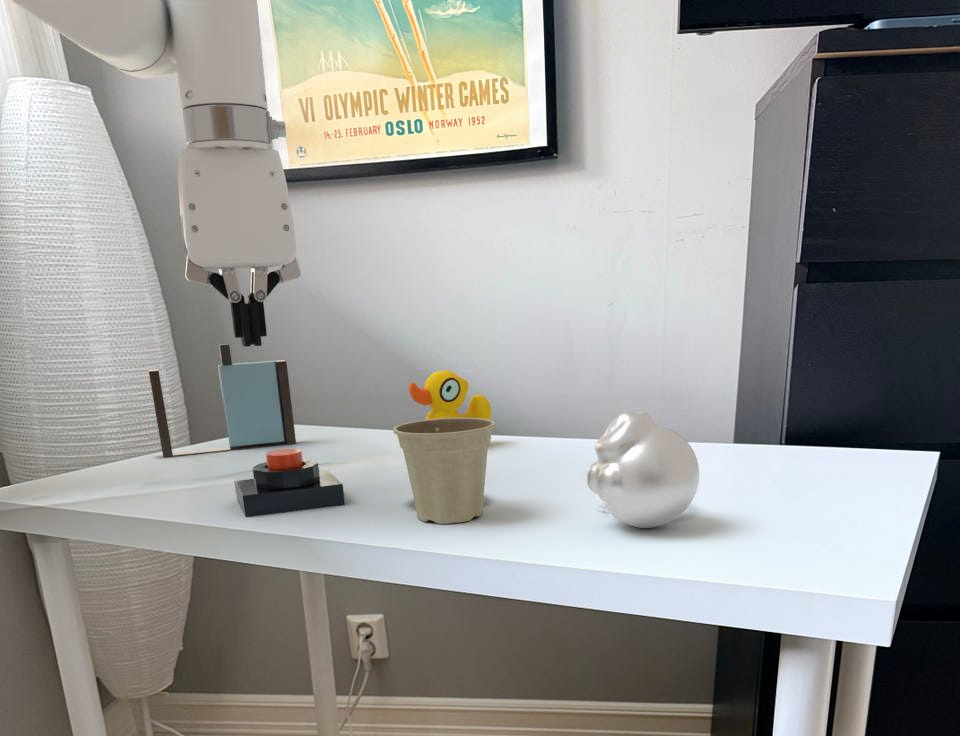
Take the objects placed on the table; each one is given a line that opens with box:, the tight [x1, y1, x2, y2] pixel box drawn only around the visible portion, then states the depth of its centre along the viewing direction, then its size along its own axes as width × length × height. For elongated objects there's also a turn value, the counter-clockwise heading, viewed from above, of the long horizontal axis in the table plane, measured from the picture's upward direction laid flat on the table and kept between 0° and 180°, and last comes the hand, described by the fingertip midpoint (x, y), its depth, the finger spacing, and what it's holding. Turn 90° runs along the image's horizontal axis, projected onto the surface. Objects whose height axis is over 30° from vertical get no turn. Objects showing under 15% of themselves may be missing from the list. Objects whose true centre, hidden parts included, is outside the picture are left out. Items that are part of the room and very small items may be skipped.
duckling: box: [408, 369, 492, 420], centre depth 121 cm, size 11×5×10 cm, turn 119°
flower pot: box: [392, 418, 496, 525], centre depth 87 cm, size 9×9×9 cm
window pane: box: [218, 343, 284, 447], centre depth 120 cm, size 7×1×13 cm, turn 110°
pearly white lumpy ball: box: [586, 411, 700, 529], centre depth 80 cm, size 9×10×10 cm
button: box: [265, 448, 303, 469], centre depth 95 cm, size 4×4×2 cm
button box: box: [233, 458, 346, 518], centre depth 96 cm, size 10×8×4 cm
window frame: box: [148, 359, 297, 459], centre depth 120 cm, size 17×2×12 cm, turn 110°
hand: (251, 345), depth 91 cm, fingers closed
